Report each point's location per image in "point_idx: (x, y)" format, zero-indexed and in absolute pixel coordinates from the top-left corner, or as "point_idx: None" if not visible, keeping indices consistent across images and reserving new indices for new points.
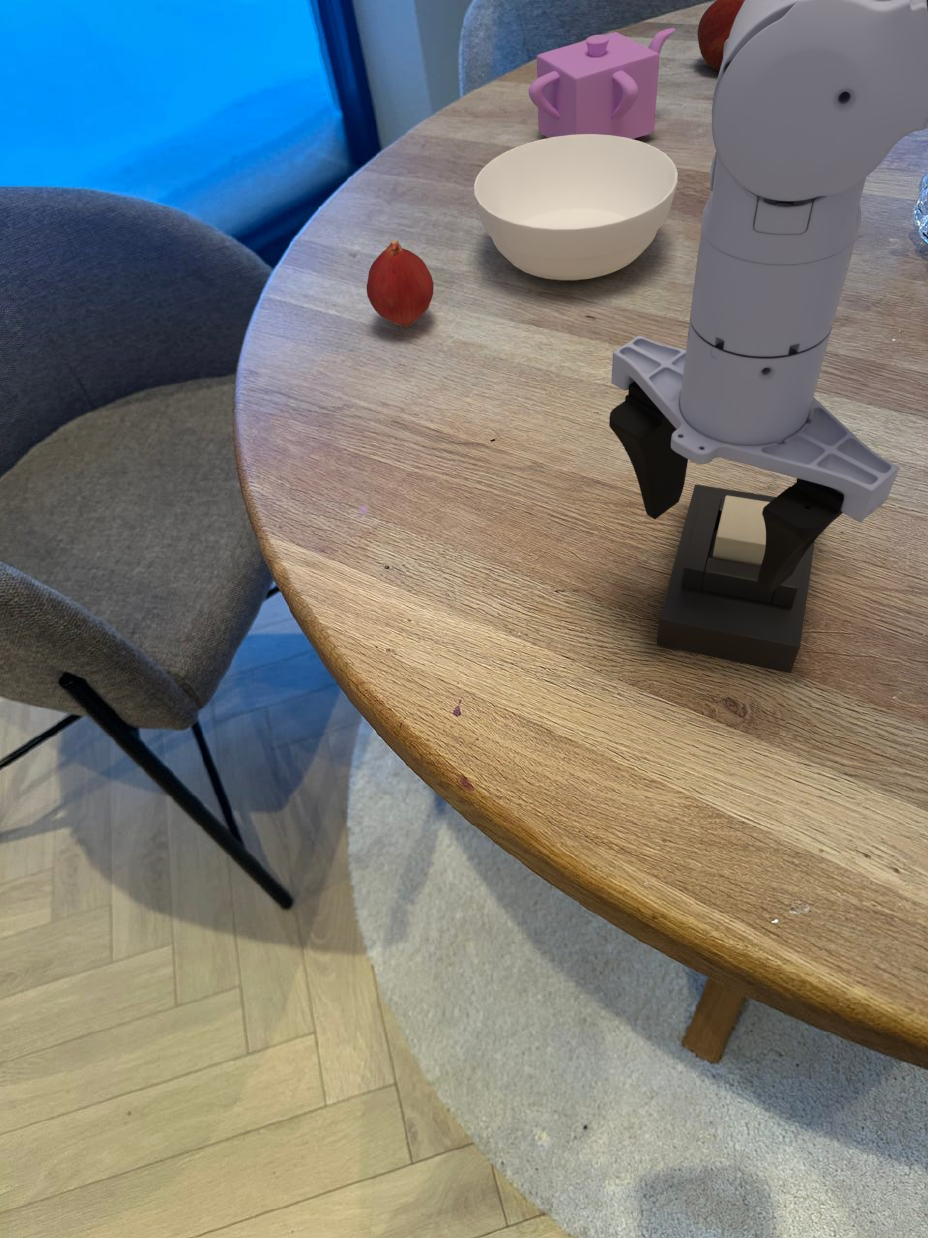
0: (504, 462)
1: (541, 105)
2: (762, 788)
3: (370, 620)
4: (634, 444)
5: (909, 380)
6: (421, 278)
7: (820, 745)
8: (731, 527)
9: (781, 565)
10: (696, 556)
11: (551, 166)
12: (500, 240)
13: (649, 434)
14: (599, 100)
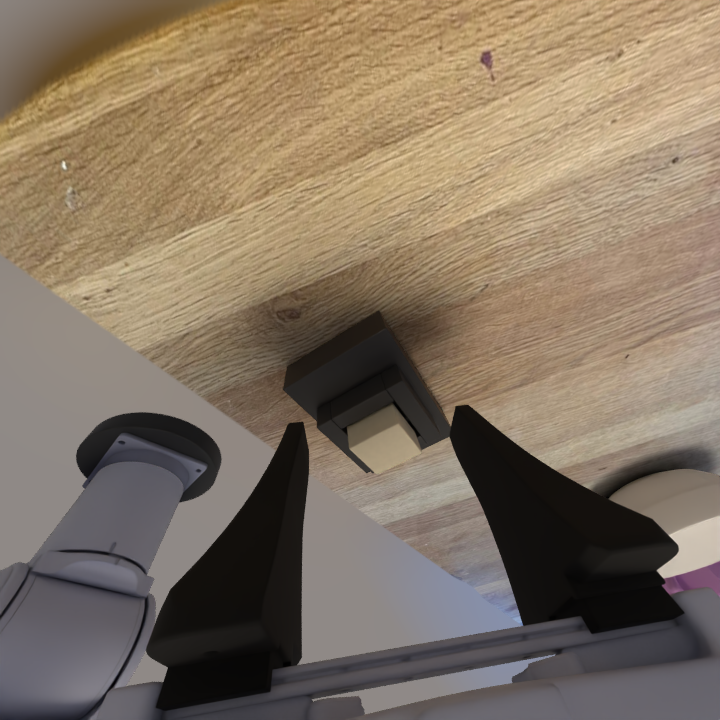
0: (605, 348)
1: None
2: (206, 272)
3: (665, 72)
4: (579, 515)
5: (401, 535)
6: None
7: (220, 338)
8: (395, 436)
9: (261, 478)
10: (402, 395)
11: (706, 536)
12: None
13: (573, 555)
14: (692, 575)
